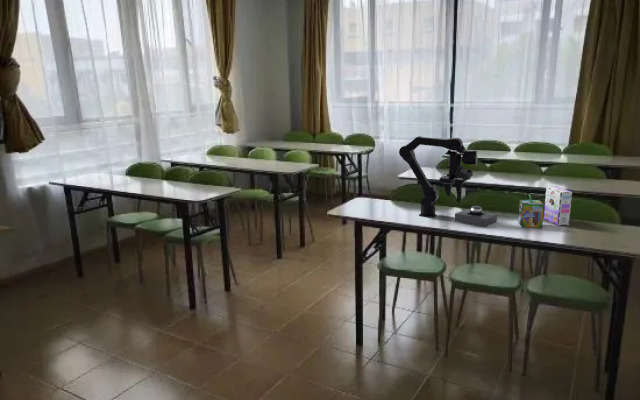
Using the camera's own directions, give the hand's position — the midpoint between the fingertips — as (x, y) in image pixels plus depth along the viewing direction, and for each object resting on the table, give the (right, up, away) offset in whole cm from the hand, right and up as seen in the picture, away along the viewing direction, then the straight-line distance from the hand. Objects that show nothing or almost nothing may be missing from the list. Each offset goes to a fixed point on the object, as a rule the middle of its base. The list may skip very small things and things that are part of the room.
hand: (453, 194), depth 245 cm
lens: (+9, -12, -5) cm, 16 cm away
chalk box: (+33, -15, -12) cm, 38 cm away
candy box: (+48, -14, -7) cm, 50 cm away
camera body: (+9, -13, -5) cm, 17 cm away
